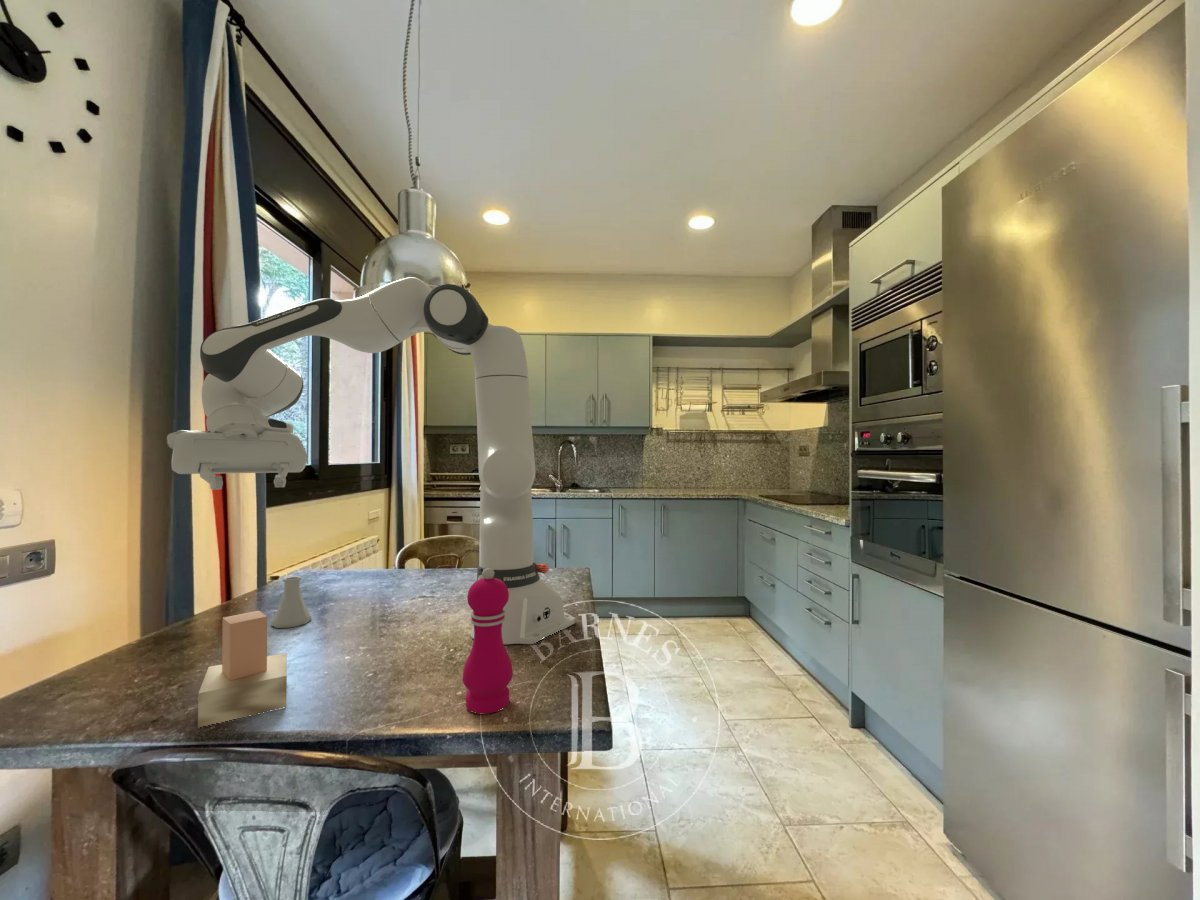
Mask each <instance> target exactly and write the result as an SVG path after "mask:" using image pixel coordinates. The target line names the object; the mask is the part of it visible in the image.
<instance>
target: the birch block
mask: <svg viewBox="0 0 1200 900" xmlns="http://www.w3.org/2000/svg"><path fill="white" fill-rule="evenodd" d="M287 667H288V652H284V653H279V654H273V655H267V671H263V672H260V673H256V674H253V675H249V676H245V677H242V678H238V679H235V680H231V681H229V680H228V678H227V677H226V676H225V675H224V674H223V673H222V664H217V665H211V666H208V668H207V670H206V673H205V675H204V678H203V681H202V684H201V685H200V688H199V691H198V694H197V695H198V696H197V701H198V702H197V729H201V728H200V727H202V728H204V727H203V726H206V727H209V726H208V725H210V726H212V725H211V724H215V725H217V724H216V723H219V724H222V723H221V722H224V723H226V722H225V721H228V722H230V721H229V720H232V719H236V718H241V717H245V718H247V717H246V716H249V715H254V716H256V715H255V714H258V713H263V712H267V711H270V710H275V709H279V708H283V707H286V708H287V689H288V688H287V684H288V683H287V681H288V680H287V678H288V675H287V674H288V670H287V669H288V668H287ZM267 713H268V712H267ZM263 714H264V713H263ZM258 715H259V714H258ZM241 719H242V718H241ZM232 721H233V720H232Z"/></svg>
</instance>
